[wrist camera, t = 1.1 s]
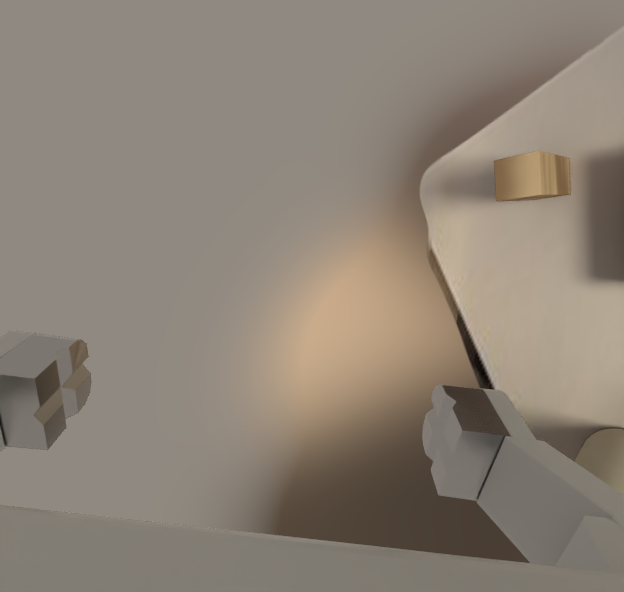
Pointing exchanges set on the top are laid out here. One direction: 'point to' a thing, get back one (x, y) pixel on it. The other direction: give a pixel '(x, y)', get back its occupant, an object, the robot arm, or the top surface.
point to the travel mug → (605, 457)
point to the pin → (532, 177)
